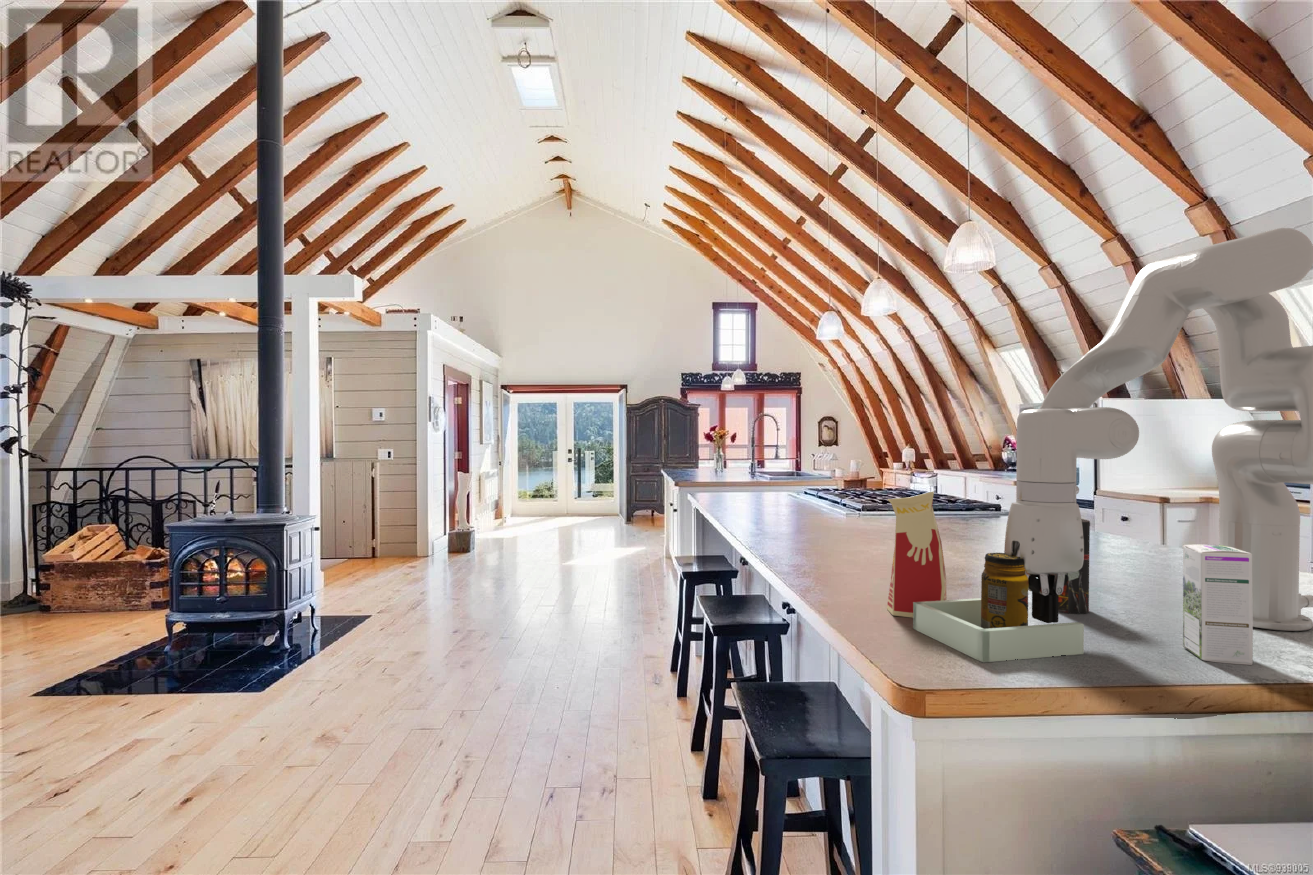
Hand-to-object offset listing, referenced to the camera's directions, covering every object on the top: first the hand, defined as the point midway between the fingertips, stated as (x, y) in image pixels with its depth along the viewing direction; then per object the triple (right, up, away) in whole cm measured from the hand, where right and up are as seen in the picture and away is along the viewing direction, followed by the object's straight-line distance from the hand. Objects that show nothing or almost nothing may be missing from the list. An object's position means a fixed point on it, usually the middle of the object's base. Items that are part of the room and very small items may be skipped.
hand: (1044, 620), depth 97 cm
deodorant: (+13, -3, +15) cm, 20 cm away
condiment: (-7, -3, -1) cm, 8 cm away
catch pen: (-8, -2, -2) cm, 9 cm away
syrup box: (+18, -3, -8) cm, 20 cm away
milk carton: (-14, -3, +13) cm, 19 cm away
